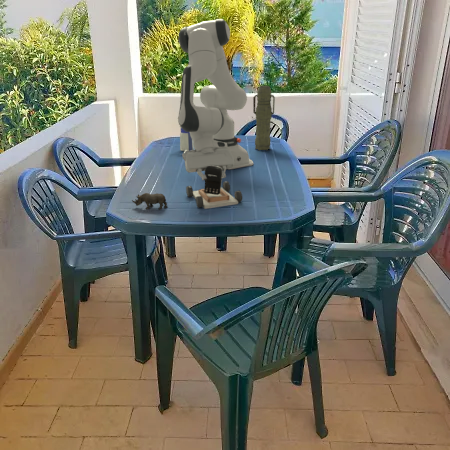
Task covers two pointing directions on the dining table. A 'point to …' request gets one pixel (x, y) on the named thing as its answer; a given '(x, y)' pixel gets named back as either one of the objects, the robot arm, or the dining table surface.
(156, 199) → the rhino figurine
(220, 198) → the chassis
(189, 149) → the water bottle
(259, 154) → the dining table surface
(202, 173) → the robot arm
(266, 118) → the thermos
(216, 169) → the battery charger
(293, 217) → the dining table surface
